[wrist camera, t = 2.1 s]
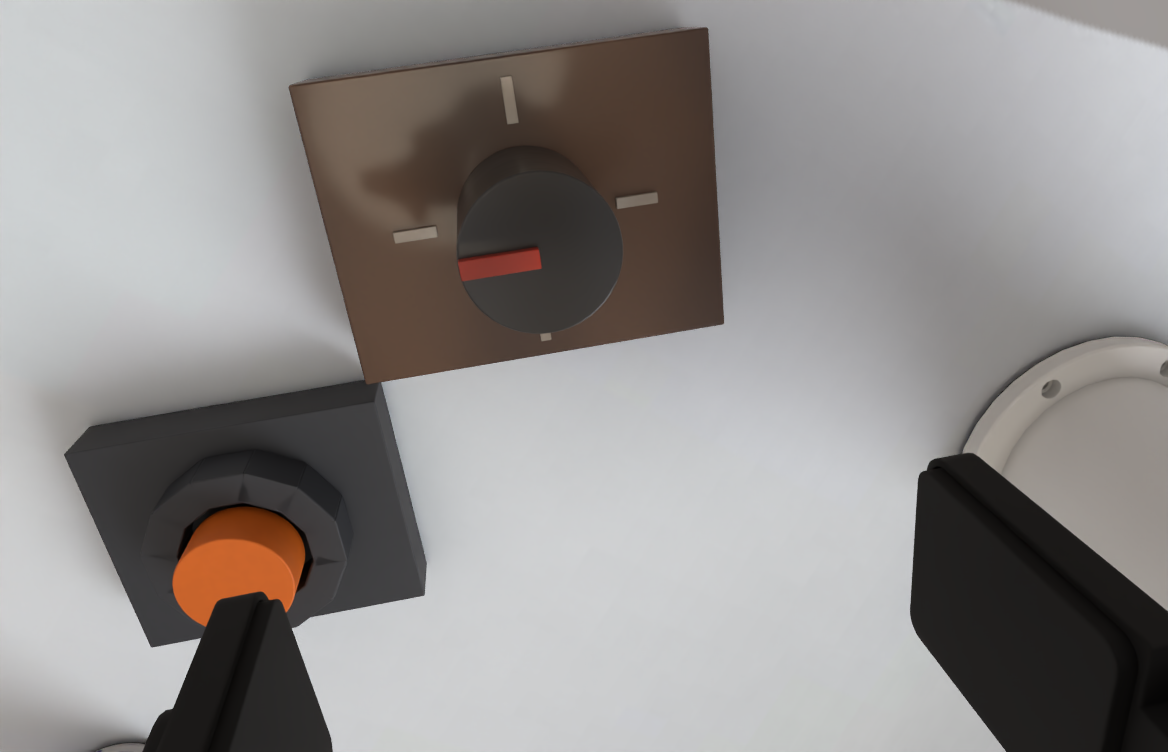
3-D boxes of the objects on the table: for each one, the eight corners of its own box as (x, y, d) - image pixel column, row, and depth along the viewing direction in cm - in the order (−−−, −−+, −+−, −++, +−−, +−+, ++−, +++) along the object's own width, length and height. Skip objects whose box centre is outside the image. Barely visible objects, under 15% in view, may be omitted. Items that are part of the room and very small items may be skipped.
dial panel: (684, 27, 28) (710, 26, 25) (702, 299, 32) (726, 326, 29) (305, 79, 27) (286, 85, 24) (374, 353, 31) (365, 387, 28)
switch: (288, 496, 29) (277, 529, 27) (317, 585, 30) (308, 621, 28) (174, 517, 28) (154, 551, 26) (210, 605, 30) (193, 643, 28)
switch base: (380, 377, 31) (369, 423, 28) (426, 563, 35) (423, 625, 31) (89, 426, 30) (38, 480, 27) (169, 611, 34) (134, 681, 30)
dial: (587, 135, 26) (616, 160, 21) (603, 272, 28) (633, 324, 23) (444, 156, 25) (441, 186, 21) (470, 293, 27) (473, 350, 22)
